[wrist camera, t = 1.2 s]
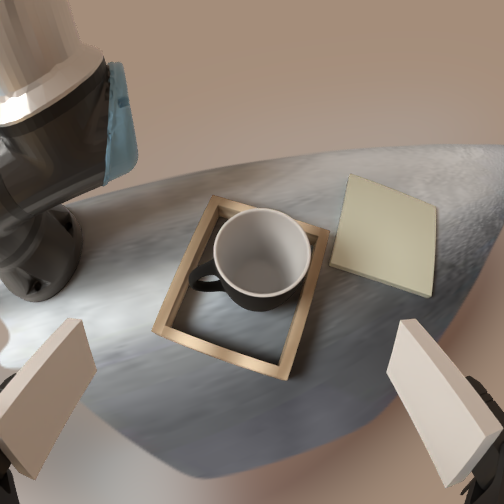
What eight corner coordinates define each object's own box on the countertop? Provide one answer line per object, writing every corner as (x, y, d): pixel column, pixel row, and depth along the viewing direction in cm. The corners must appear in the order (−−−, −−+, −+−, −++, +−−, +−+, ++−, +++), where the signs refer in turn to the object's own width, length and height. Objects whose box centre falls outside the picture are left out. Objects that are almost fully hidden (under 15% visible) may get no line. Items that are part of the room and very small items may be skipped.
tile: (328, 265, 38) (330, 262, 37) (348, 177, 44) (350, 173, 43) (427, 298, 37) (431, 296, 36) (432, 210, 43) (435, 206, 42)
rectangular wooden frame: (157, 335, 34) (151, 331, 32) (214, 206, 41) (212, 194, 39) (283, 380, 33) (286, 380, 30) (324, 240, 40) (329, 231, 37)
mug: (284, 244, 39) (296, 200, 30) (303, 311, 36) (323, 285, 27) (190, 262, 38) (174, 222, 29) (202, 332, 35) (187, 313, 25)
